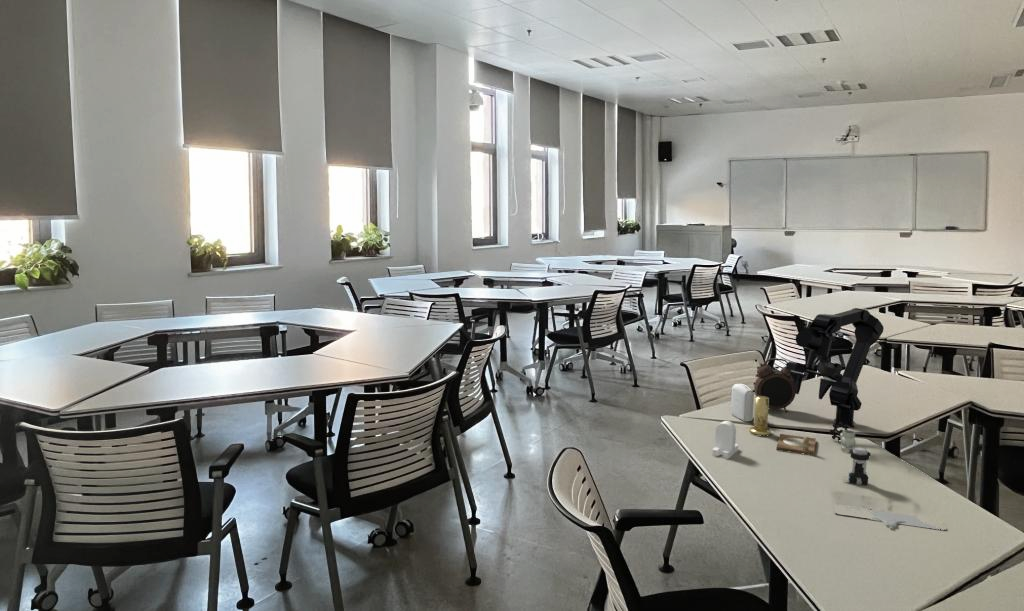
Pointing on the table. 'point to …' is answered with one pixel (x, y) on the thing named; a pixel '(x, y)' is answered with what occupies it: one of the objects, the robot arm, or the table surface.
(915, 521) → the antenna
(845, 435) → the valve
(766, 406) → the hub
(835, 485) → the table surface
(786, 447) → the base plate
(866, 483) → the black white upright piece
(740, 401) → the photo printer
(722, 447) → the white phone stand
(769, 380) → the alarm clock
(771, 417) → the table surface
